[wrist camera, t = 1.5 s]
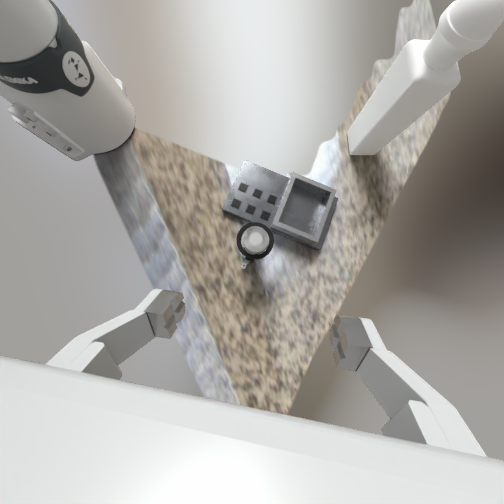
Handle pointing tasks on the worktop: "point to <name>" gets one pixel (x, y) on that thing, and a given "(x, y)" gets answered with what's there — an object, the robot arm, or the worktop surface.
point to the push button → (254, 241)
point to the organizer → (282, 203)
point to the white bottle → (423, 74)
